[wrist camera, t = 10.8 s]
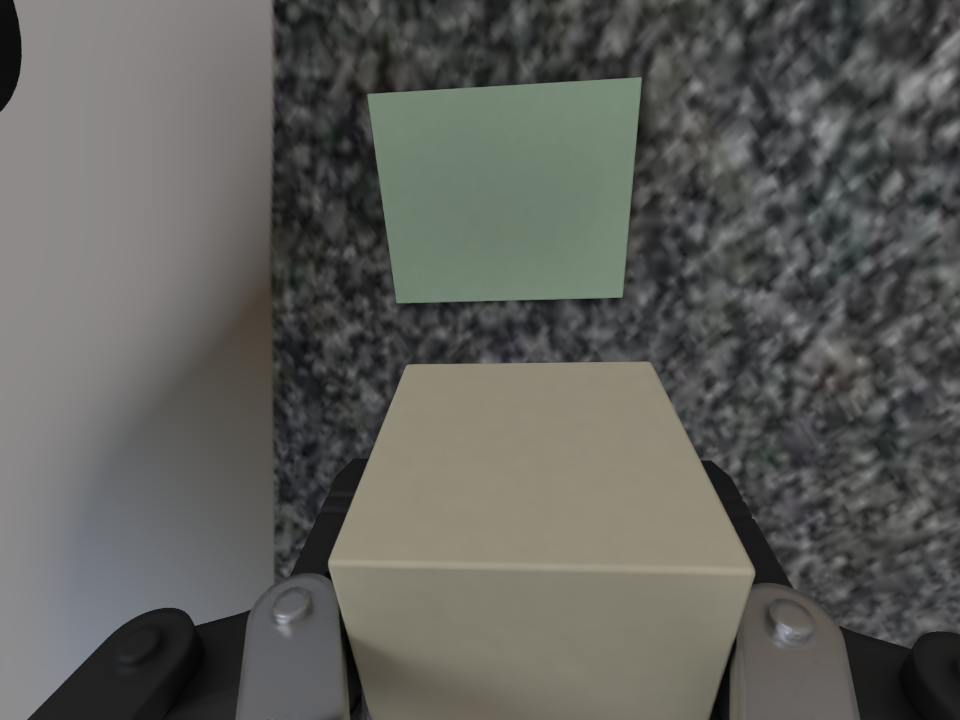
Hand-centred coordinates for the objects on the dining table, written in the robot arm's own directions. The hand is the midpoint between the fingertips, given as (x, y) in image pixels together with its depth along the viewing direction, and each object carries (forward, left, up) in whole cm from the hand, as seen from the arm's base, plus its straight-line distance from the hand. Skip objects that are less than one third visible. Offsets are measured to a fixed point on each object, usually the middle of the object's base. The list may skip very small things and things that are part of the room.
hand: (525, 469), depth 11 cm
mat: (-1, +3, -17) cm, 17 cm away
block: (0, 0, 0) cm, 0 cm away
